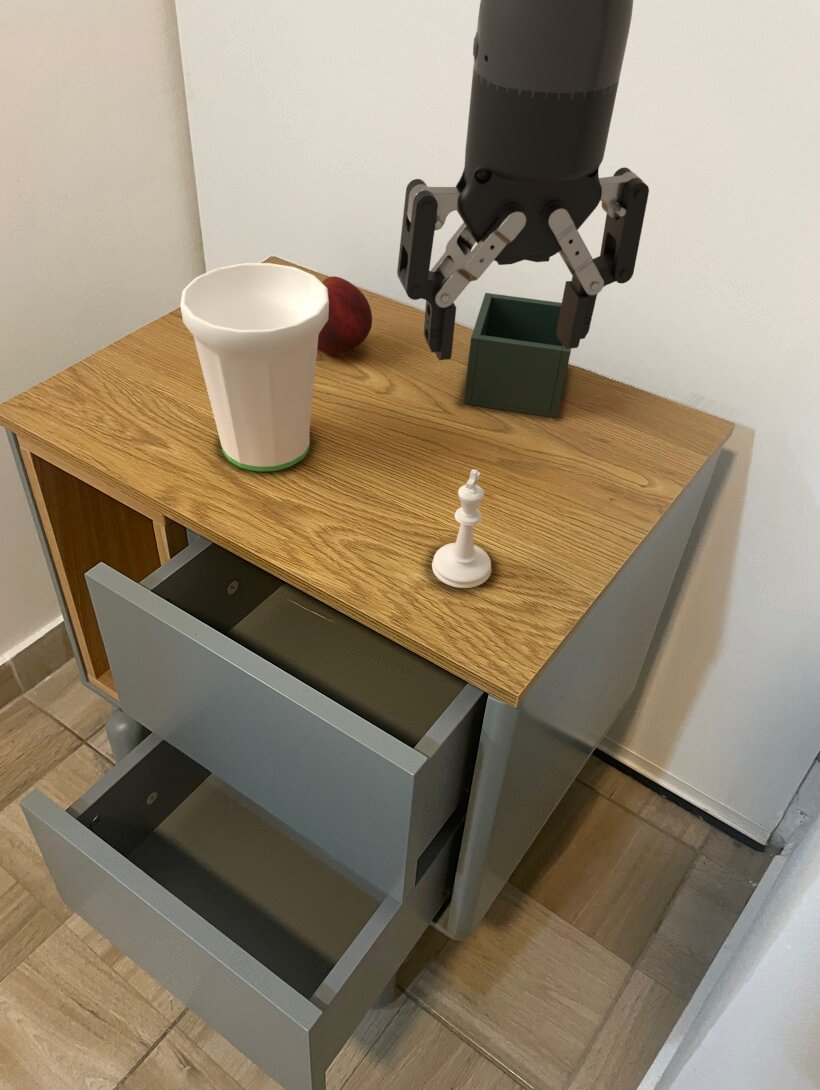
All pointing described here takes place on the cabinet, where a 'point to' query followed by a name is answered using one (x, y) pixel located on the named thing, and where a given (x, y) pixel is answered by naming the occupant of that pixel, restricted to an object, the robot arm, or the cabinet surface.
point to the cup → (258, 357)
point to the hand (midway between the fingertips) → (504, 348)
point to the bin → (517, 356)
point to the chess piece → (464, 543)
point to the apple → (344, 318)
